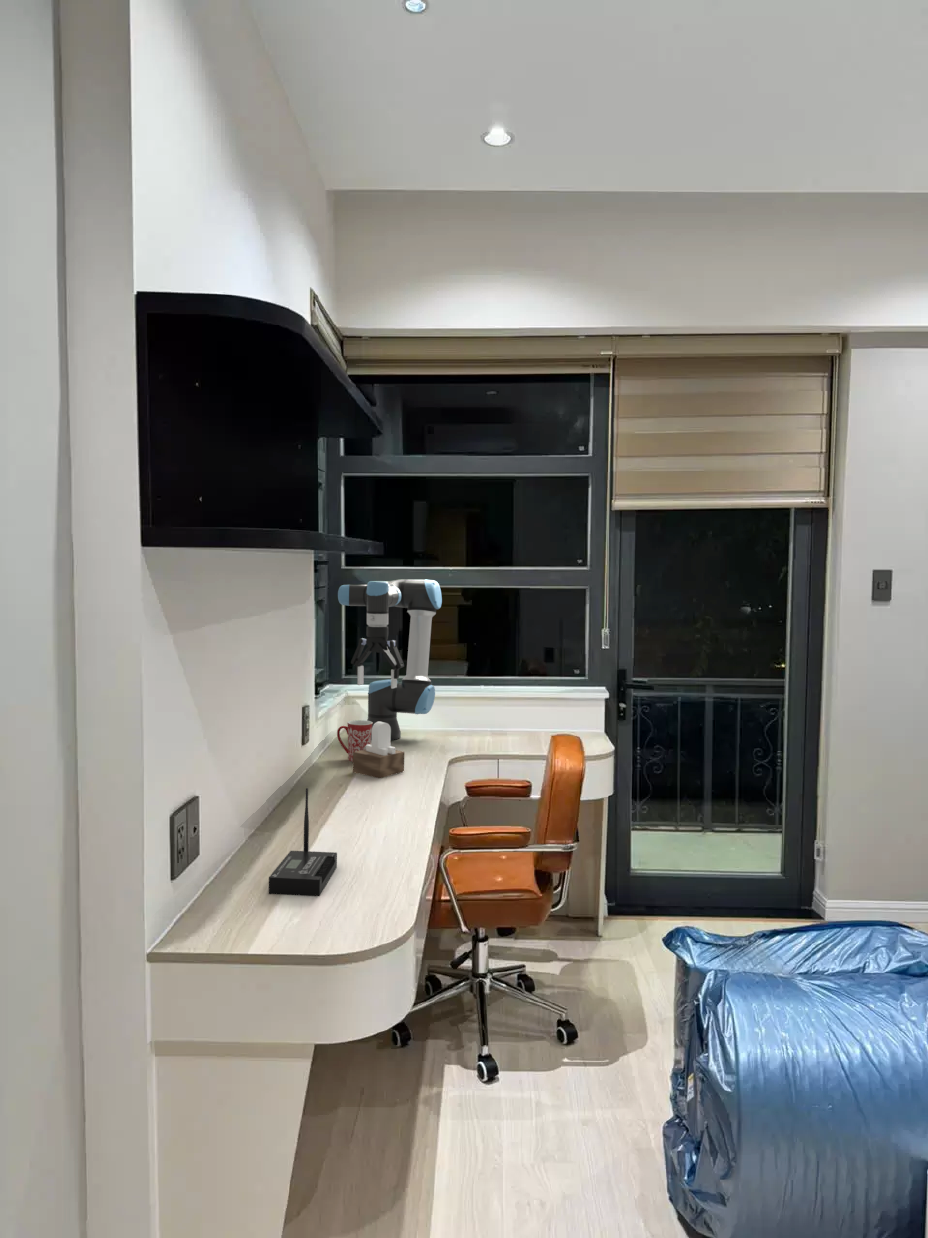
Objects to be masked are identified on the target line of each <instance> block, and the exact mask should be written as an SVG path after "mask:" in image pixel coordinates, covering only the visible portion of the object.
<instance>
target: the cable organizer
mask: <svg viewBox="0 0 928 1238" xmlns="http://www.w3.org/2000/svg"><path fill="white" fill-rule="evenodd" d="M391 741H392V740H391V727H390V725H389V724H388V723H384V722H380V721H378V722H376V723H375V724H374V725H373V727H372V740H371V744H368V745H366V751H368V752H372V753H376V754H379V755H383V756H385V755H388V753H390V754H395V750H396V747H395V746H392V745H391Z"/></svg>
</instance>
